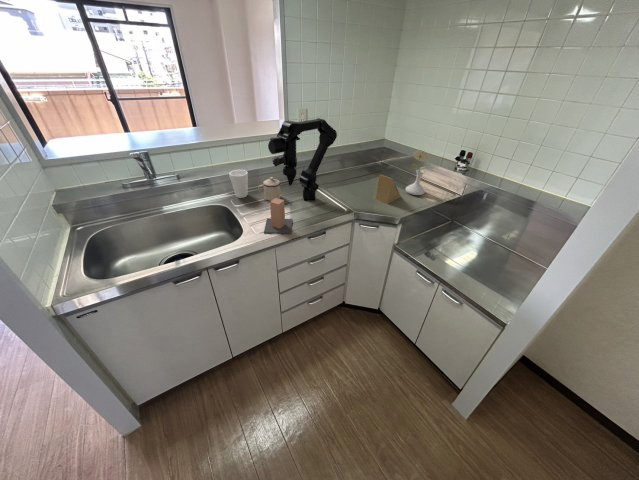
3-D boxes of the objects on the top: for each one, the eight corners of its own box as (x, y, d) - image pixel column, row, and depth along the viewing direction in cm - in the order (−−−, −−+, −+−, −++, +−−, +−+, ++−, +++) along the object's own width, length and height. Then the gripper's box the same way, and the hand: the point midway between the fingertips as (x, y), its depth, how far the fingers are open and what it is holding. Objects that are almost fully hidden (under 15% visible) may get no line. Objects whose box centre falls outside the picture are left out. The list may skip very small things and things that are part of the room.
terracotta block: (276, 221, 124) (275, 197, 116) (285, 224, 122) (284, 200, 115) (271, 226, 120) (269, 201, 113) (280, 228, 119) (278, 204, 112)
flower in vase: (427, 194, 159) (440, 153, 145) (415, 198, 153) (428, 156, 139) (410, 186, 168) (421, 147, 153) (398, 190, 162) (408, 149, 148)
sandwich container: (401, 196, 155) (407, 172, 146) (387, 204, 146) (393, 179, 137) (389, 192, 160) (394, 168, 151) (374, 199, 150) (379, 174, 142)
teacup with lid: (281, 194, 150) (280, 174, 143) (280, 201, 142) (279, 181, 135) (260, 193, 149) (258, 174, 142) (257, 200, 142) (255, 180, 135)
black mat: (291, 219, 127) (291, 218, 127) (290, 233, 117) (290, 232, 117) (266, 219, 126) (266, 218, 126) (263, 233, 116) (263, 232, 116)
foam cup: (234, 191, 150) (231, 169, 142) (251, 191, 150) (248, 169, 143) (231, 199, 142) (227, 176, 134) (248, 199, 143) (246, 176, 135)
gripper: (274, 144, 130) (276, 174, 139) (271, 156, 115) (272, 188, 124) (297, 145, 131) (297, 174, 140) (296, 156, 116) (296, 189, 125)
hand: (290, 181), depth 132 cm, fingers open, 9 cm apart
